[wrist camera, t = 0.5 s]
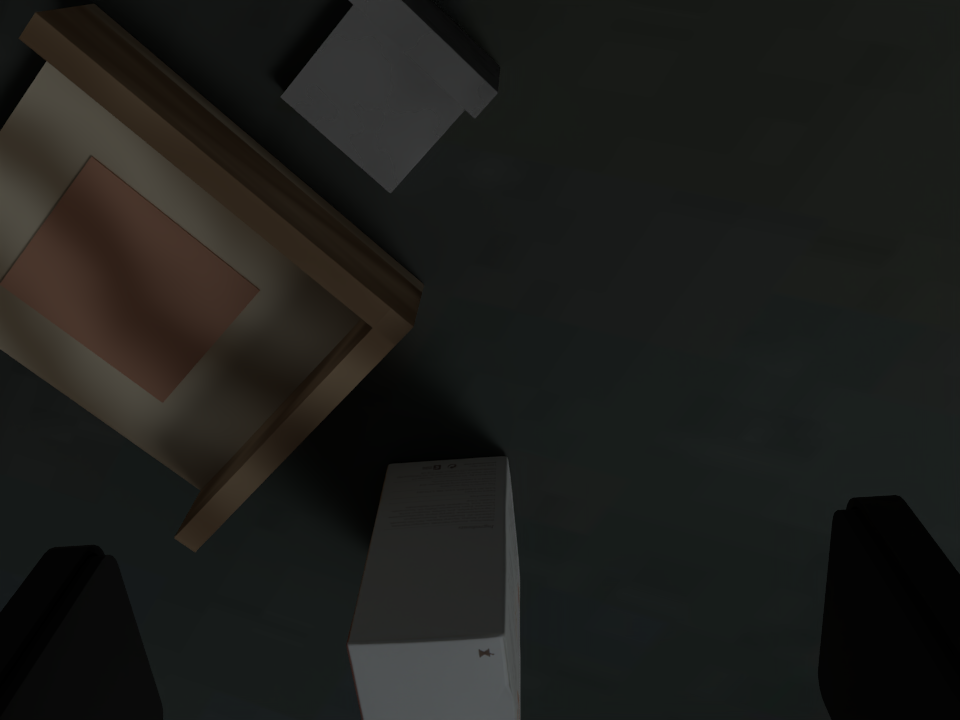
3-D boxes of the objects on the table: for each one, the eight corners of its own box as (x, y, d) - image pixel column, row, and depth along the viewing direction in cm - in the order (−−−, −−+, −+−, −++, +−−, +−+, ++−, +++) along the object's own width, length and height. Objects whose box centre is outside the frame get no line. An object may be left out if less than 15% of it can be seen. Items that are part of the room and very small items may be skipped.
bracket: (391, -40, 36) (364, -35, 29) (500, 67, 37) (498, 92, 31) (285, 93, 38) (240, 123, 32) (393, 187, 39) (370, 234, 33)
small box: (386, 460, 46) (342, 642, 34) (509, 452, 45) (508, 633, 33) (406, 585, 49) (373, 790, 37) (521, 579, 49) (524, 783, 37)
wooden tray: (94, 3, 36) (35, 12, 32) (424, 284, 41) (413, 326, 37) (-85, 272, 42) (-158, 312, 37) (225, 493, 47) (195, 552, 42)
